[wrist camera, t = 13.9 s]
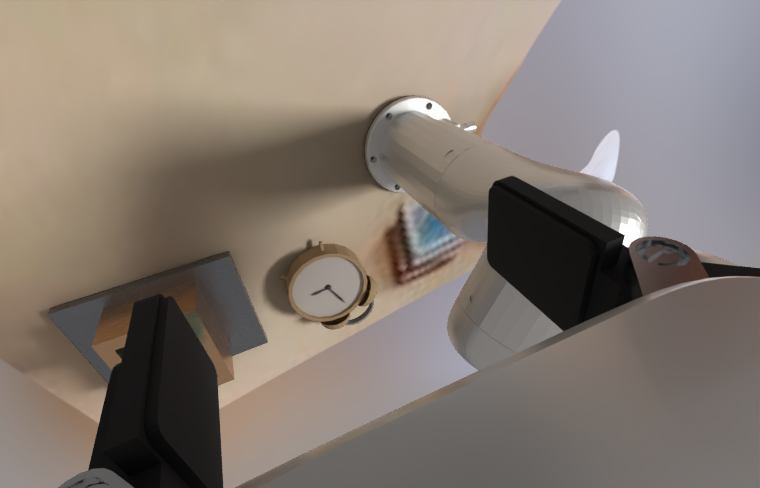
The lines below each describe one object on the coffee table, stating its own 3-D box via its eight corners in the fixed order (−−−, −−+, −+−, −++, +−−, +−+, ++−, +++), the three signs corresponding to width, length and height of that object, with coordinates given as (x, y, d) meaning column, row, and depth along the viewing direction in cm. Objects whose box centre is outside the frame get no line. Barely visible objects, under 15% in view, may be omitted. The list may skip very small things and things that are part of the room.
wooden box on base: (228, 251, 48) (232, 283, 43) (266, 336, 58) (274, 372, 52) (50, 308, 44) (28, 353, 38) (123, 391, 53) (114, 437, 47)
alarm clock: (332, 236, 50) (398, 303, 57) (327, 223, 54) (388, 287, 61) (268, 291, 50) (341, 351, 57) (267, 274, 55) (335, 332, 62)
